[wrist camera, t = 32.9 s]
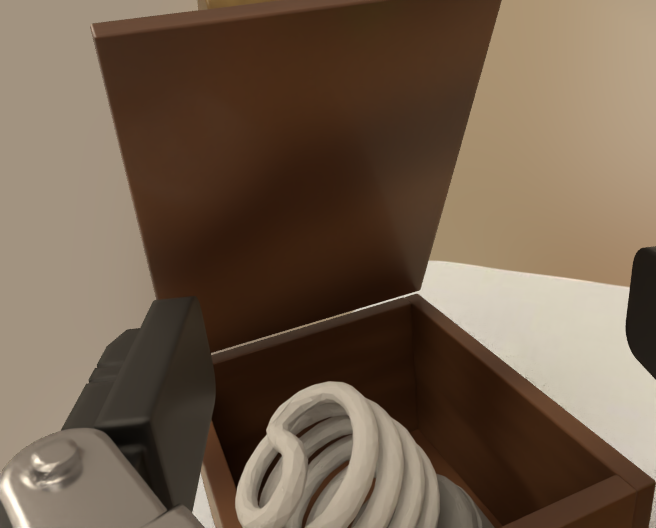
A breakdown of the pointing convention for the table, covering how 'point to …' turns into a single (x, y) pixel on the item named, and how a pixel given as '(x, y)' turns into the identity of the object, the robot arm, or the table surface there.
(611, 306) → the table surface
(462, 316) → the table surface
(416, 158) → the lid
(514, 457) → the chest
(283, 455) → the light bulb
